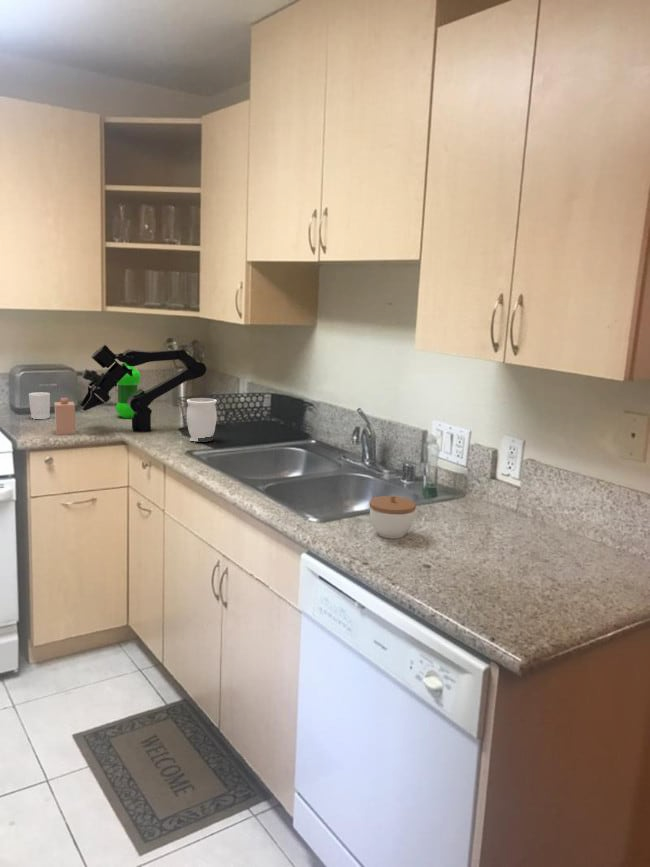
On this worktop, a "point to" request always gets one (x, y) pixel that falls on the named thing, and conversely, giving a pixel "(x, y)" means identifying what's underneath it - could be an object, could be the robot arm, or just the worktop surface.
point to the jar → (201, 417)
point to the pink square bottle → (65, 417)
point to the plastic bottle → (127, 392)
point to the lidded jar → (392, 515)
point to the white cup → (39, 405)
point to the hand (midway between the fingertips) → (82, 407)
